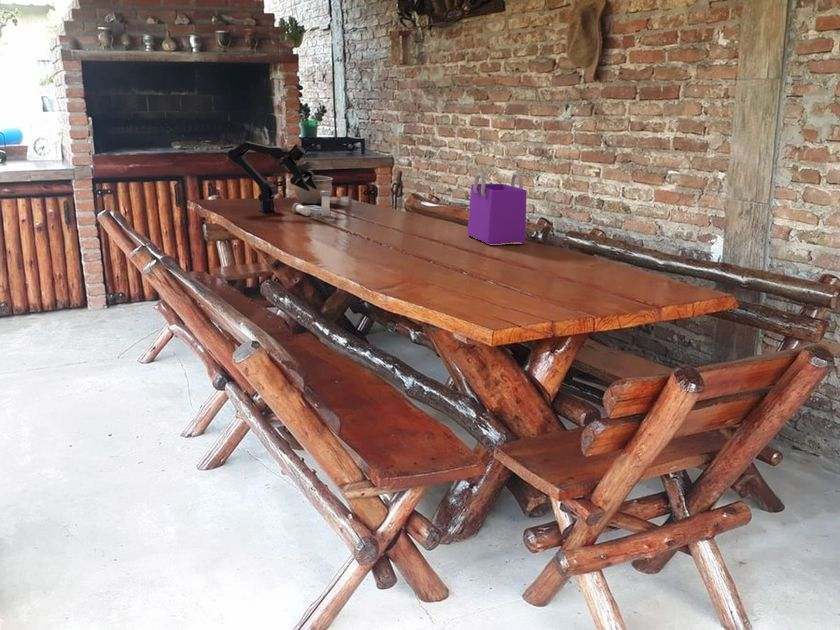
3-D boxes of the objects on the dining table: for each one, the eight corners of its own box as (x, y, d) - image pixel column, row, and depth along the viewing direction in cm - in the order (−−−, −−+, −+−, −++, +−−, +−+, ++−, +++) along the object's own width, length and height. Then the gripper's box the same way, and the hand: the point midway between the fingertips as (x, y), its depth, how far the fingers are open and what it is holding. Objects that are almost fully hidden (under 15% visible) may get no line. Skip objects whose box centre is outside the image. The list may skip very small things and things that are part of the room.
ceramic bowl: (319, 200, 485) (319, 174, 481) (340, 204, 468) (340, 178, 465) (286, 202, 471) (286, 176, 467) (307, 207, 455) (306, 179, 451)
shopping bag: (457, 237, 372) (460, 170, 364) (497, 234, 383) (500, 169, 375) (493, 247, 349) (497, 176, 341) (534, 244, 359) (539, 175, 352)
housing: (330, 213, 433) (330, 208, 433) (315, 214, 428) (315, 209, 427) (313, 209, 445) (313, 205, 445) (299, 210, 440) (299, 206, 439)
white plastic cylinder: (306, 219, 423) (313, 211, 424) (300, 212, 420) (306, 204, 421) (297, 214, 433) (303, 207, 434) (290, 208, 430) (296, 200, 431)
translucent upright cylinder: (324, 216, 422) (324, 192, 419) (318, 215, 426) (318, 191, 422) (332, 215, 425) (332, 191, 422) (327, 214, 429) (326, 190, 426)
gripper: (295, 157, 412) (316, 180, 412) (309, 155, 430) (329, 177, 430) (281, 172, 416) (301, 195, 416) (296, 169, 434) (315, 191, 434)
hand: (312, 189), depth 424 cm, fingers open, 9 cm apart
